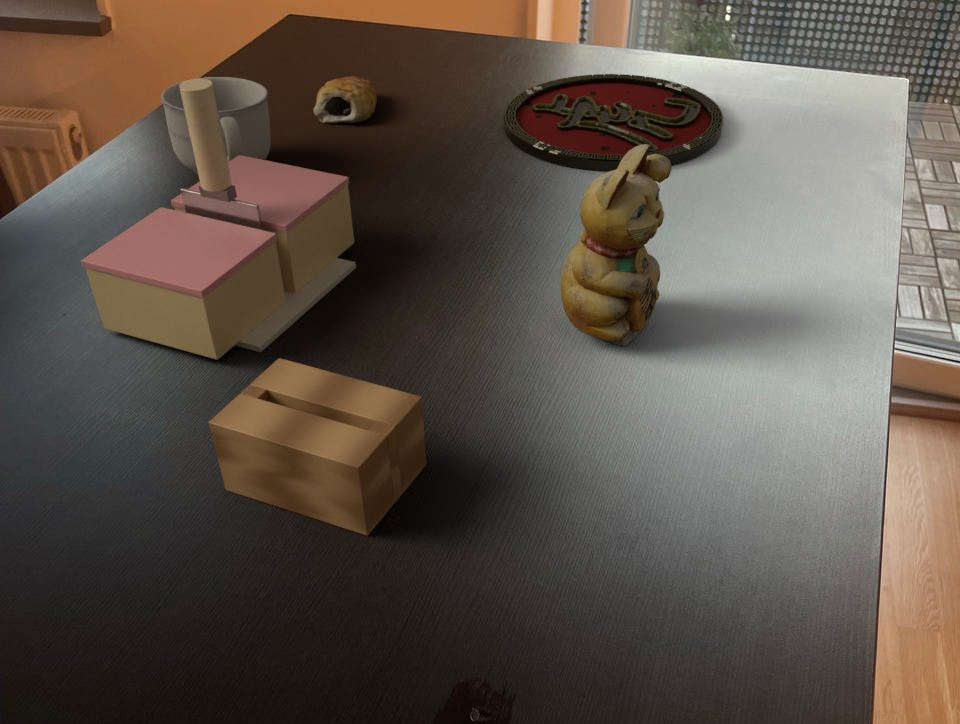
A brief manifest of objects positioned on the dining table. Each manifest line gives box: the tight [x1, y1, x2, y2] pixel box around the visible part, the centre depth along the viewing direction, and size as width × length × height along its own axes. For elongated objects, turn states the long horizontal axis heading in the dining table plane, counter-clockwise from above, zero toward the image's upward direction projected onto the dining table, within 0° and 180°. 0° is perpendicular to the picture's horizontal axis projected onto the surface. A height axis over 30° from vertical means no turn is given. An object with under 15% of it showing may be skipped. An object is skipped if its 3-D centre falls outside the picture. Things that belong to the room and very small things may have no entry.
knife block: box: [208, 357, 427, 537], centre depth 74 cm, size 12×9×6 cm
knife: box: [179, 77, 263, 230], centre depth 88 cm, size 8×3×17 cm, turn 64°
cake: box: [80, 155, 357, 360], centre depth 92 cm, size 16×23×7 cm
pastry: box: [313, 75, 378, 125], centre depth 121 cm, size 9×7×4 cm
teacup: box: [160, 76, 271, 176], centre depth 108 cm, size 14×11×8 cm
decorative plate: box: [503, 73, 724, 172], centre depth 118 cm, size 25×1×25 cm
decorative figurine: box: [560, 144, 673, 347], centre depth 84 cm, size 10×8×15 cm
